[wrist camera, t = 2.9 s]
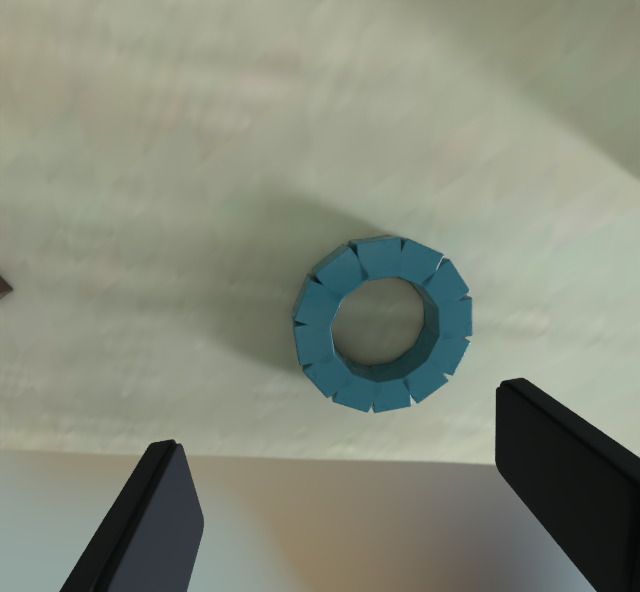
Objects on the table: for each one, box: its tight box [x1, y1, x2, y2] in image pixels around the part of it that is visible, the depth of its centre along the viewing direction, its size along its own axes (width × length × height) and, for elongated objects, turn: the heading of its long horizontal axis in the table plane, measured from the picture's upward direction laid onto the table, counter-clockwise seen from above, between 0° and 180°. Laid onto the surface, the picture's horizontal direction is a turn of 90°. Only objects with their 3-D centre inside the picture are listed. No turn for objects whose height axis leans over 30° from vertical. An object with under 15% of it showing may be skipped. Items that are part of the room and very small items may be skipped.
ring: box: [293, 235, 473, 413], centre depth 18 cm, size 10×10×2 cm
